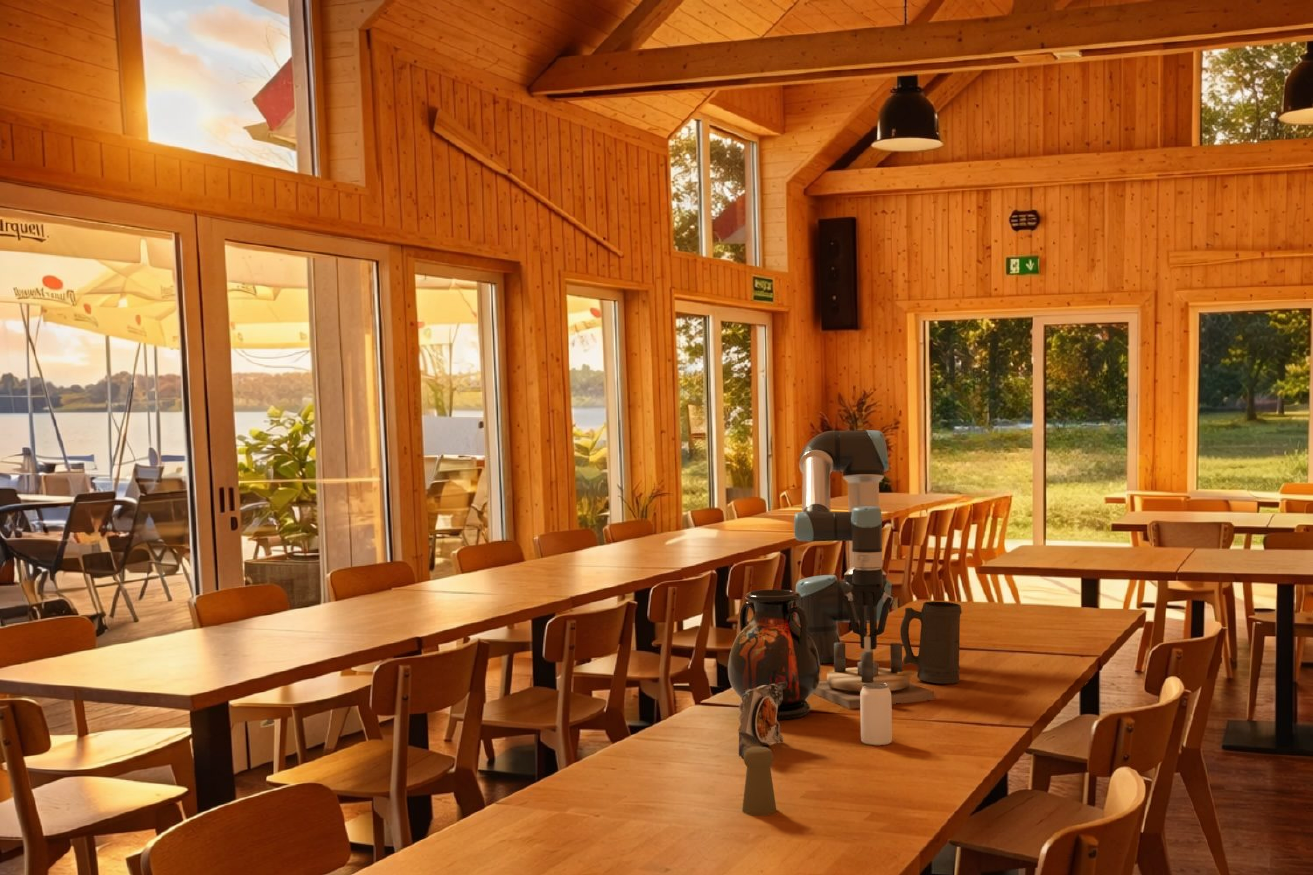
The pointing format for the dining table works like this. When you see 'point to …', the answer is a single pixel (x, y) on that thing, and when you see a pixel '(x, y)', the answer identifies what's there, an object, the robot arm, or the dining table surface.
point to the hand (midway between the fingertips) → (868, 661)
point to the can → (876, 714)
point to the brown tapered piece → (758, 782)
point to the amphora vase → (775, 651)
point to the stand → (853, 697)
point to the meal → (760, 717)
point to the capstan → (868, 670)
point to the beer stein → (935, 641)
